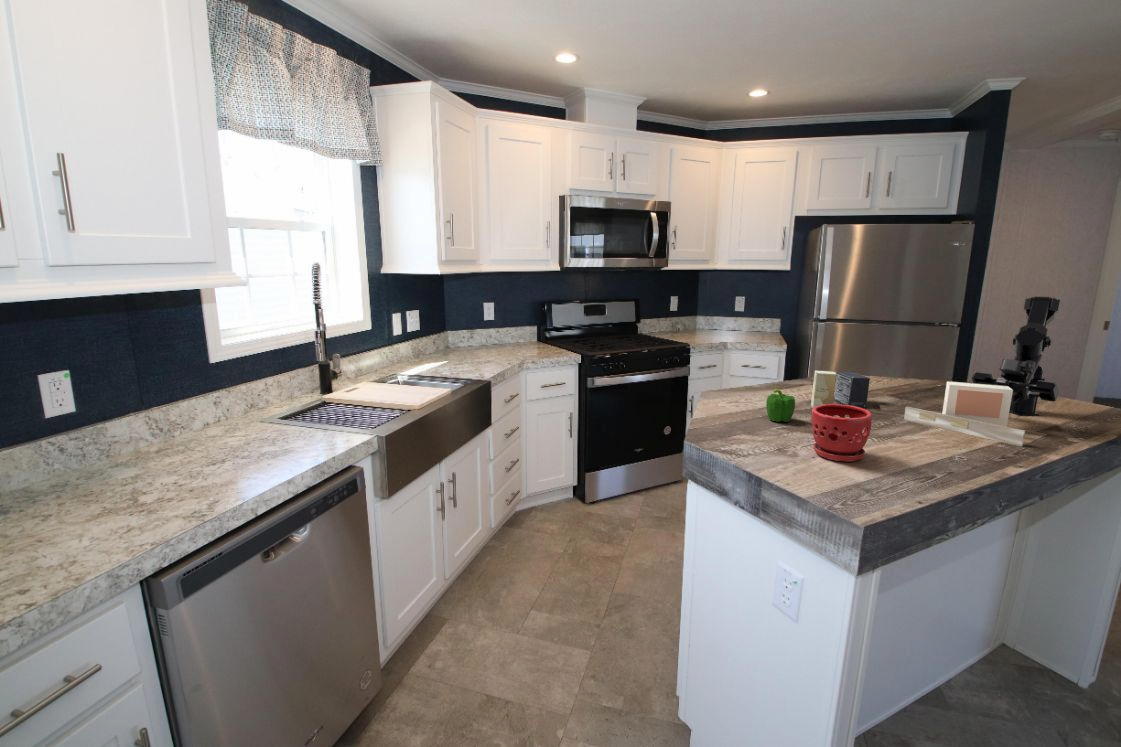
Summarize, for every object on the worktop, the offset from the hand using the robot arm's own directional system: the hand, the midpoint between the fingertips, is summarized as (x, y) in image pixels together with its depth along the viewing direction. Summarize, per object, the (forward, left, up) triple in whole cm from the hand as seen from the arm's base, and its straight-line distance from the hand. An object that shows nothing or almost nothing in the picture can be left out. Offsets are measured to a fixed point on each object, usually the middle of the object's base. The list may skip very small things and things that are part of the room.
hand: (1001, 408), depth 149 cm
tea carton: (+7, -1, -5) cm, 9 cm away
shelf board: (+7, -1, -7) cm, 10 cm away
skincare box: (+36, -29, -7) cm, 47 cm away
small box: (+24, -33, -7) cm, 41 cm away
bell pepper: (+57, -15, -7) cm, 59 cm away
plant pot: (+56, +16, -7) cm, 59 cm away
